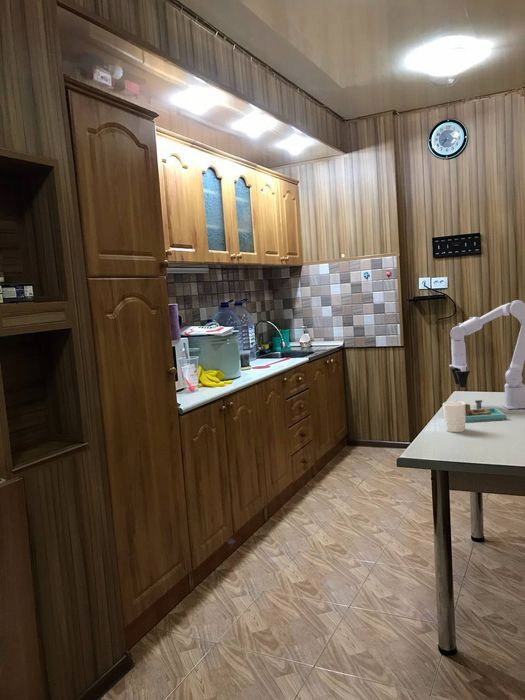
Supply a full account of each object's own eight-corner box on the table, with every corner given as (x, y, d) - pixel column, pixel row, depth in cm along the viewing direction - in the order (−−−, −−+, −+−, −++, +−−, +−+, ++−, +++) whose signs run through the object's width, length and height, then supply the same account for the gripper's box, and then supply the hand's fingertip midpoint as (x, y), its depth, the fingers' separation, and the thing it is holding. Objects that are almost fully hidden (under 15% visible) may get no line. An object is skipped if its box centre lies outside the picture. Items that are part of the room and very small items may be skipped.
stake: (481, 409, 229) (481, 399, 229) (483, 410, 227) (482, 400, 227) (475, 410, 230) (474, 400, 229) (476, 411, 228) (475, 401, 227)
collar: (485, 413, 220) (485, 401, 220) (491, 417, 213) (490, 404, 213) (460, 415, 222) (459, 402, 221) (464, 419, 215) (463, 406, 214)
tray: (495, 412, 222) (495, 407, 222) (505, 419, 211) (505, 414, 210) (454, 415, 224) (454, 410, 224) (462, 422, 212) (462, 417, 212)
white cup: (442, 432, 201) (440, 405, 200) (446, 426, 208) (444, 400, 207) (465, 433, 197) (463, 405, 196) (468, 427, 204) (466, 401, 203)
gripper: (445, 353, 242) (447, 383, 244) (453, 357, 228) (455, 389, 229) (461, 351, 241) (463, 382, 243) (470, 355, 227) (472, 388, 228)
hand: (460, 385), depth 236 cm, fingers open, 7 cm apart
